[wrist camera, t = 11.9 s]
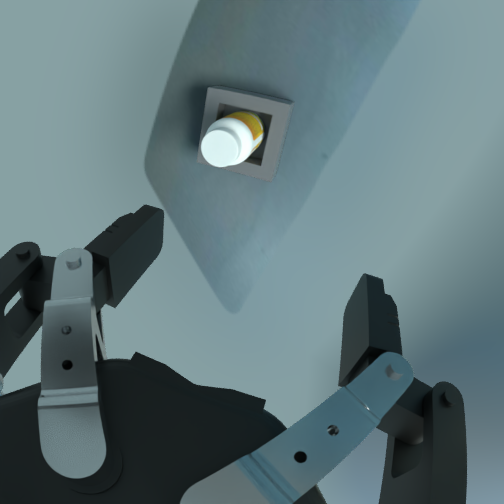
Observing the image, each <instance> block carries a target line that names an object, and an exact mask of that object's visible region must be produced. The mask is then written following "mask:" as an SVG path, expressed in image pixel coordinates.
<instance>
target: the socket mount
mask: <svg viewBox="0 0 504 504" xmlns="http://www.w3.org/2000/svg"><path fill="white" fill-rule="evenodd" d="M293 105H294V102H292V101H288V100H284V99H280V98H276V97H272V96H268V95H263V94H259V93H254V92H250V91H245V90H240V89H235V88H230V87H224V86H219V85H218V86H212V87H208V90H207V96H206V102H205V109H204V115H203V121H202V128H201V135H200V141H199V149H198V156H197V162H198V163H202V164H206V165H210V166H213V165H211V164H210V163H208V162H207V161H206V160H205V158H204V157H203V155H202V151H201V143H202V140H203V138H204V136H205V135H206V132H207V130H208V128H209V127H210V126H211V125H212V124H213V123H214V122H216V121H217V120H219V119H221V118H223V117H226V116H228V115H230V114H232V113H234V112H236V111H240V110H247V111H251V112H253V113H255V114H257V115H258V116H259V117H260V118H261V120H262V121H263V123H264V126H265V137H264V139H263V141H262V143H261V144H260V145H259V146H258V147H257V148H256V149H255V150H254V151H253V152H252V153H251V154H250V156H249V157H248V158H247V159H245V160H244V161H243V162H241V163H239V164H236V165H229V166H226V167H217V168H221V169H225V170H229V171H233V172H236V173H240V174H244V175H247V176H251V177H254V178H258V179H261V180H265V181H268V182H272V180H273V179H274V177H275V175H276V173H277V169H278V165H279V161H280V157H281V153H282V149H283V145H284V141H285V137H286V133H287V129H288V125H289V121H290V117H291V113H292V109H293ZM214 167H216V166H214Z"/></svg>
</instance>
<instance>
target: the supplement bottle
mask: <svg viewBox="0 0 504 504" xmlns="http://www.w3.org/2000/svg"><path fill="white" fill-rule="evenodd" d="M264 137H265V126H264V123H263V121H262V120H261V118H260V117H259V116H258V115H257V114H255V113H253V112H251V111H247V110H240V111H236V112H234V113H232V114H230V115H228V116H226V117H223V118H221V119H219V120H217V121H216V122H214V123H213V124H212V125H211V126H210V127H209V128H208V130H207V132H206V135H205V136H204V138H203V140H202V143H201V151H202V155H203V157H204V158H205V160H206V161H207V162H208V163H210V164H211V165H213V166H216V167H226V166H229V165H236V164H239V163H241V162H243V161H244V160H245V159H247V158H248V157H249V156H250V154H251V153H252V152H253V151H254V150H255V149H256V148H257V147H258V146H259V145H260V144H261V143H262V141H263V139H264Z"/></svg>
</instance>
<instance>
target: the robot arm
mask: <svg viewBox="0 0 504 504" xmlns="http://www.w3.org/2000/svg"><path fill="white" fill-rule="evenodd" d="M163 226H164V211H163V210H162V209H159V208H156V207H153V206H149V205H144V206H142V207H141V208H140V209H139V210H138V211H136V212H135V213H134V214H133V213H129V214H127V215H124V216H122V217H119V218H118V219H117V220H116V221H115V222H114V223H112V225H111V226H109V227H108V228H106V230H105V231H103V232H102V233H101V234H100V235H98V236H97V237H96V238H95V239H94V240H93V241H92V242H90V243H89V244H88V245H87V246H86V247H85V248H84V249H82V248H72V249H68V250H66V251H63V252H62V253H60V254H59V255H58V257H49V256H42V255H41V252H40V248H39V246H38V245H37V244H35V243H33V242H23V243H20V244H17V245H16V246H14V247H13V248H12V249H11V250H9V252H7V253H6V254H5V255H4V256H3V257H2V258H1V259H0V504H327V503H326V501H325V499H324V497H323V496H322V494H321V492H320V490H319V488H318V486H317V483H318V482H319V481H320V480H321V479H323V478H324V477H325V476H326V475H327V474H328V473H329V472H331V471H332V470H333V469H334V468H335V467H336V466H337V465H338V464H339V463H341V462H342V461H343V460H344V459H345V458H346V457H347V456H348V455H349V454H350V453H351V452H352V451H353V450H354V449H355V448H356V447H357V446H358V445H359V444H360V443H361V442H362V441H363V440H364V439H365V438H366V437H367V436H368V435H369V434H370V433H371V432H372V431H373V430H374V429H375V428H378V429H380V430H382V431H383V432H385V433H387V434H388V439H387V449H386V458H385V466H384V473H383V481H382V487H381V493H380V499H379V504H466V487H467V446H466V426H465V413H464V403H463V398H462V395H461V393H460V391H459V390H458V389H457V388H456V387H455V386H454V385H453V384H451V383H448V382H439V383H437V384H436V385H435V386H434V387H433V388H432V387H430V386H428V385H426V384H425V383H423V382H421V381H419V380H418V379H416V378H415V377H414V372H413V368H412V366H411V364H410V363H409V362H408V360H407V359H405V358H404V357H403V356H402V346H401V337H400V328H399V320H398V314H397V313H398V312H397V306H396V304H395V303H394V301H393V299H392V297H391V296H390V295H387V294H385V292H384V284H383V279H381V278H378V277H375V276H371V275H368V274H363V275H362V277H361V278H360V280H359V283H358V284H357V287H356V288H355V290H354V292H353V294H352V296H351V298H350V300H349V301H348V303H347V306H346V309H345V312H344V318H343V320H344V321H343V335H342V350H341V362H340V374H339V384H338V386H341V388H340V389H339V390H337V391H336V392H335V393H334V394H333V395H331V396H330V397H329V398H328V399H326V400H325V401H324V402H323V403H321V404H320V405H319V406H317V407H316V408H315V409H314V410H312V411H311V412H310V413H308V414H307V415H306V416H304V417H303V418H302V419H300V420H299V421H298V422H296V423H295V424H294V425H292V426H291V427H290V428H288V429H287V428H286V427H285V426H284V425H283V423H282V422H281V421H279V420H278V419H277V418H276V417H275V416H274V415H272V414H271V413H269V412H268V411H266V410H264V405H265V402H266V400H265V399H261V398H258V397H255V396H252V395H248V394H245V393H242V392H239V391H236V390H233V389H224V388H215V387H208V386H200V385H196V384H193V383H192V382H190V381H189V380H187V379H186V378H184V377H183V376H181V375H180V374H178V373H177V372H175V371H174V370H172V369H171V368H170V367H168V366H167V365H165V364H163V363H161V362H158V361H156V360H154V359H151V358H149V357H147V356H145V355H142V354H140V353H138V352H135V354H134V355H133V357H132V358H131V360H128V359H107V356H106V349H105V341H104V331H103V320H102V311H101V308H102V307H103V306H104V304H108V305H110V306H112V307H114V308H115V307H117V305H118V304H119V303H120V302H121V300H122V299H123V298H124V297H125V295H126V294H127V293H128V291H129V290H130V289H131V288H132V286H133V285H134V284H135V283H136V282H137V280H138V279H139V278H140V277H141V275H142V274H143V273H144V272H145V271H146V270H147V268H148V267H149V266H150V265H151V264H152V262H153V261H154V260H155V259H156V258H157V256H158V255H159V253H160V251H161V248H162V243H163ZM18 291H19V293H20V296H21V298H20V299H19V300H18V302H17V303H16V304H15V305H14V306H13V307H12V309H11V310H10V311H9V312H8V313H7V314H6V316H4V310H5V307H6V305H7V303H8V302H9V301H10V300H11V299H12V297H13V296H14V295H15V294H16V293H17V292H18ZM42 324H43V325H42ZM41 326H42V344H41V345H42V346H41V382H40V383H37V384H34V385H31V386H28V387H25V388H23V389H20V390H17V391H14V392H11V393H8V394H5V395H3V392H2V389H3V378H4V377H5V375H6V373H7V372H8V371H9V369H10V368H11V366H12V365H13V363H14V362H15V360H16V359H17V358H18V356H19V355H20V353H21V352H22V351H23V349H24V348H25V347H26V345H27V344H28V343H29V341H30V340H31V339H32V337H33V336H34V335H35V333H36V332H37V331H38V329H39V328H40V327H41Z"/></svg>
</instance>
